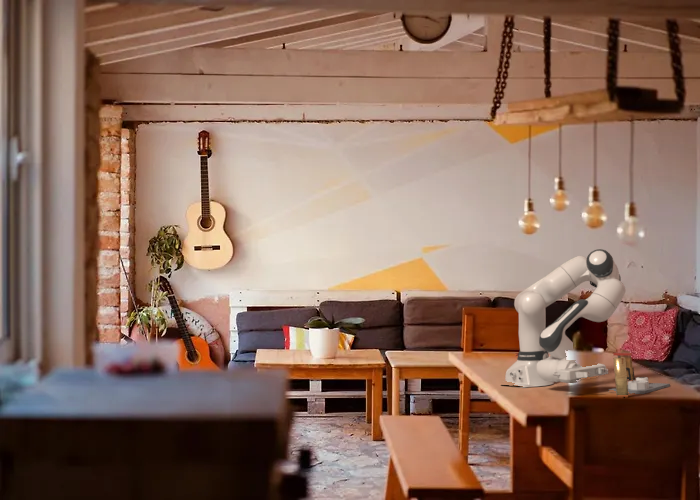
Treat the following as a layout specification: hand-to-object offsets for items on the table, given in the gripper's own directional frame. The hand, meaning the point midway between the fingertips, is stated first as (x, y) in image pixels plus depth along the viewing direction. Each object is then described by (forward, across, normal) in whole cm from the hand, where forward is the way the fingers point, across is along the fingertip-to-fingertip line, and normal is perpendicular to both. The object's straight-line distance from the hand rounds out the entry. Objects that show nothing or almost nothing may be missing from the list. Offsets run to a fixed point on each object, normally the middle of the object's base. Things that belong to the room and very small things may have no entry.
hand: (597, 373), depth 314 cm
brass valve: (+12, 0, +8) cm, 15 cm away
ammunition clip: (-21, +38, +8) cm, 44 cm away
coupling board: (+3, +18, +8) cm, 20 cm away
